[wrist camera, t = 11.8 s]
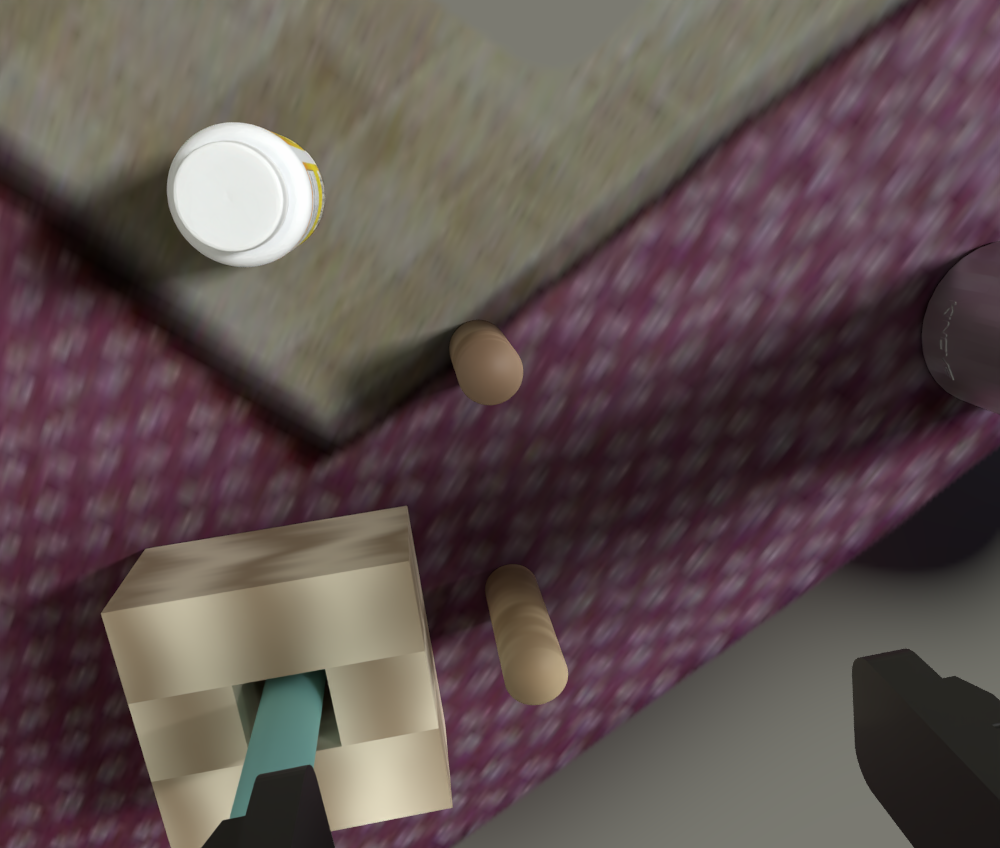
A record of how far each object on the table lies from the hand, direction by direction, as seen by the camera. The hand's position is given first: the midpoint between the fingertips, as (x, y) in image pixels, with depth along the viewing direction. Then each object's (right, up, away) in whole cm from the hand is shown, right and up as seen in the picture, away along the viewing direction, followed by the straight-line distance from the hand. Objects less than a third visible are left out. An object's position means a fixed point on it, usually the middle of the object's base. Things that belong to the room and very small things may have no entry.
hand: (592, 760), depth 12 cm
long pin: (-12, -7, +35) cm, 38 cm away
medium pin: (-1, -4, +35) cm, 36 cm away
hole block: (-12, -7, +35) cm, 38 cm away
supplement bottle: (-13, +16, +28) cm, 35 cm away
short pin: (-3, +9, +31) cm, 33 cm away
